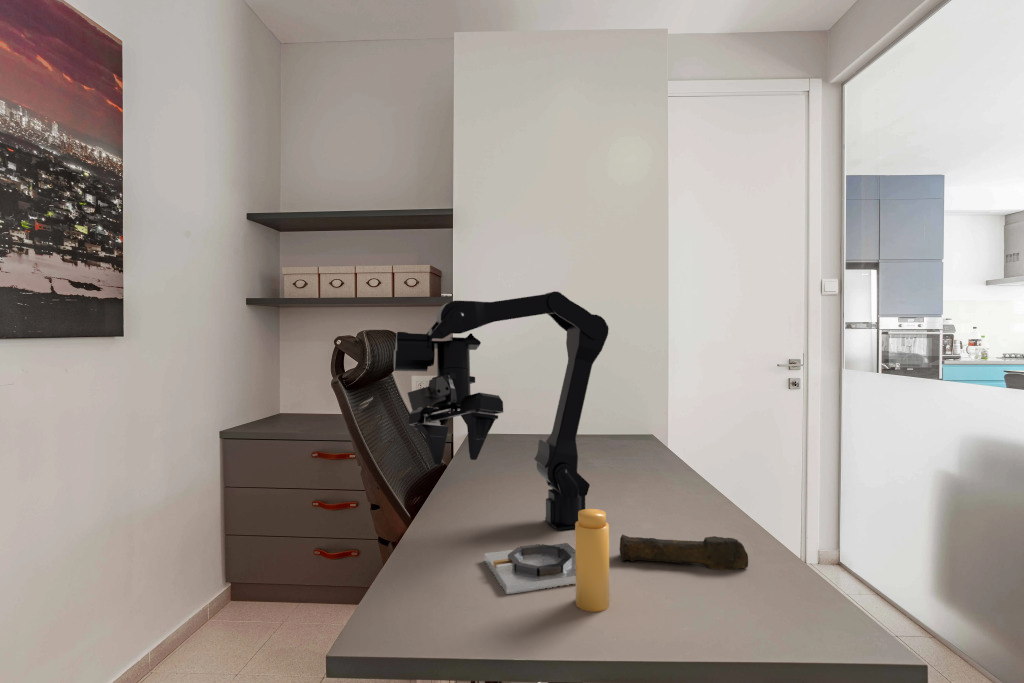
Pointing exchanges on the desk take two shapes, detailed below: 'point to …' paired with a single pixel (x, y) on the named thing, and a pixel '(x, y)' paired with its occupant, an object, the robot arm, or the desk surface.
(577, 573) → the domed yellow peg
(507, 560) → the plate
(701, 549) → the hand tool
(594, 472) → the desk surface
